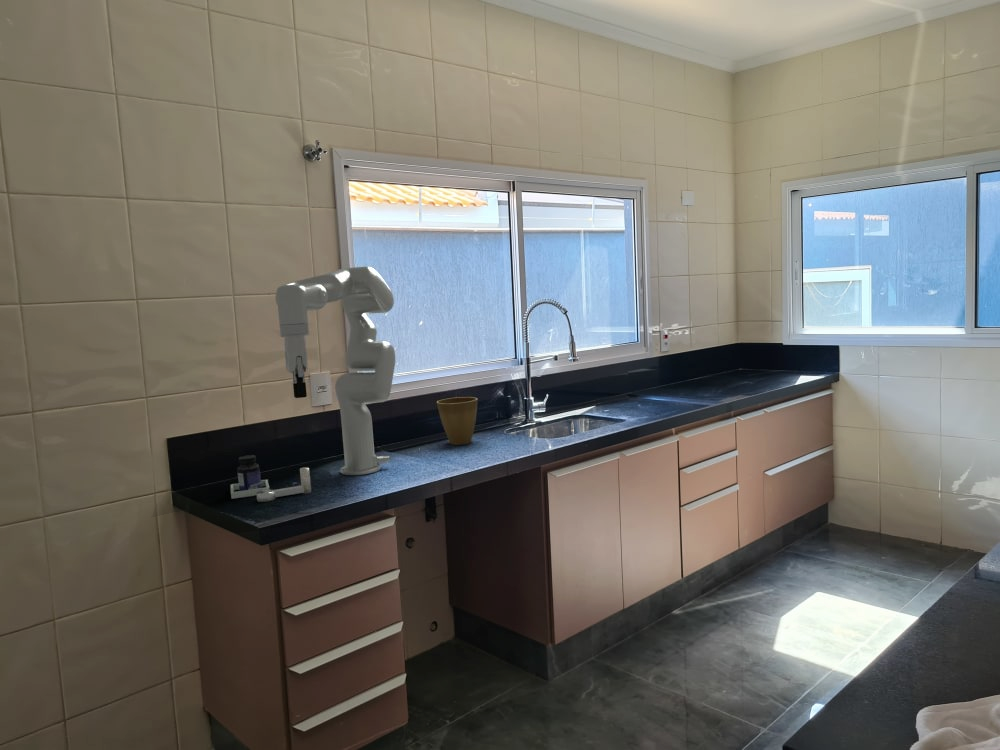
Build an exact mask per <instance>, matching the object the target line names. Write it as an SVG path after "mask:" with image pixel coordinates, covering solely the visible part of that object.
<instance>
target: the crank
mask: <svg viewBox="0 0 1000 750" xmlns="http://www.w3.org/2000/svg"><path fill="white" fill-rule="evenodd" d="M310 472H311V471H310V467H308V466H306V467H305V466H304V467H301V468H299V473H300V474H299V477H300V484H301V485H297V486H290V487H285V488H279V489H270V490H263V491H259V492H257V493H256V494H257V495H256V500H257V502H259V503H261V502H262V503H264V502H265V503H266V502H271V501H274V500H276V499H277V498H279V497H284V496H290V495H296V494H303V495H305V494H311V493H312V483H311V475H310Z"/></svg>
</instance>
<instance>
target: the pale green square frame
mask: <svg viewBox="0 0 1000 750" xmlns="http://www.w3.org/2000/svg"><path fill="white" fill-rule="evenodd" d="M261 487H262V488H259V489H252V490H245V491H240V489H239V483H232V484H230V497H231V499H232V500H233V499H238V498H246V497H253V496H257V494H256V493H257V492H259V491H263V490H271V488H270V485H269V479H261ZM237 490H238V491H237Z"/></svg>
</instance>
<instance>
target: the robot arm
mask: <svg viewBox="0 0 1000 750" xmlns="http://www.w3.org/2000/svg"><path fill="white" fill-rule="evenodd" d="M339 300H341V305H342V308H343V311H344V313H345V315H346V317H347V318H346V319H347V321H348V323H349V328H350V332H349V337H348V338H349V339H348V344H347V348H346V354H345V364H346V365H345V366H346V367H347V368H348V369H349V370H351V371H353V372H348V373H343V374H341V375H340V376H338V378H336V380H335V384H334V389H335V393H336V399H337V401H338V405H339V411H340V421H341V431H342V432H341V433H342V443H343V444H342V445H343V455H344V466H342V467H341V468H340V473H341V474H342V475H345V476H361V475H369V474H373V473H376V472H378V471H380V470H381V464H382V463H390V462H391V458H390V456H389V455H380V456H377V454H375V445H374V442H375V441H374V433H373V419H372V414H371V413H372V412H371V411H370V409H369V408H368V406H367V405H366V404H365V403H367V404H368V403H384V402H386V401H387V400H388V399H389V398H390V395H391V393H392V392H391V391H392V385H393V380H394V373H395V367H396V366H395V365H396V351H395V348H394V347H393V344H392V343H390V342H388V341H383V340H378V341H377V333H378V331H377V327H376V326H375V324H374V323H373V321H372V320H371V319H370V318H369V316H368V315H367V314H384V313H387V312H390V311H391V310H392V309H393V307H394V304H395V303H394V302H395V298H394V294H393V291H392V290H391V288H390V287H389V285H388V283H386V281H385V279H384V278H383V277H382V276H381V275H380V274H379V272H378V271H377V270H376V269H374V268H373V267H371V266H356V267H355V266H353V267H343V268H340V269H337V270H334V271H332V272H327V273H325V274H321V275H316V276H311V277H309V278H304V279H299V280H294V281H290V282H288V283H285V284H283V285H280V286H278V287H277V289H276V293H275V304H276V305H277V311H278V312H277V313H278V322H279V323H278V324H279V325H278V326H279V332H280V334H279V335H280V338H284V340H283V341H284V342H283V343H284V344H283V345H284V357H285V370H286V372H288V373H289V374H292V381H293V383H292V387H293V397H294V398H295V399H300V398H306V397H307V396H308V393H307V382H306V375H305V373H306V372H307V371H308V353H307V345H306V344H307V343H306V336H309V335H310V331H309V329H310V328H309V318H308V312H311V311H319V310H321V309H323V308H325V306H326V305H327V304H329V303H334V302H337V301H339Z"/></svg>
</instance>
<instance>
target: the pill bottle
mask: <svg viewBox="0 0 1000 750" xmlns="http://www.w3.org/2000/svg"><path fill="white" fill-rule="evenodd" d="M256 461H257V457H256V455H254V454H253V455H249V454H248V455H243V456H239V457H238V463H239V465H238V466H237V469H236V470H237V471H236V472H237V478H238V479H237V480H238V484H239V491H245V490H252V489H259V488H263V486H261V480H262V479H261V471H260V470H261V469H260V465H259V463H257V462H256Z"/></svg>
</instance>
